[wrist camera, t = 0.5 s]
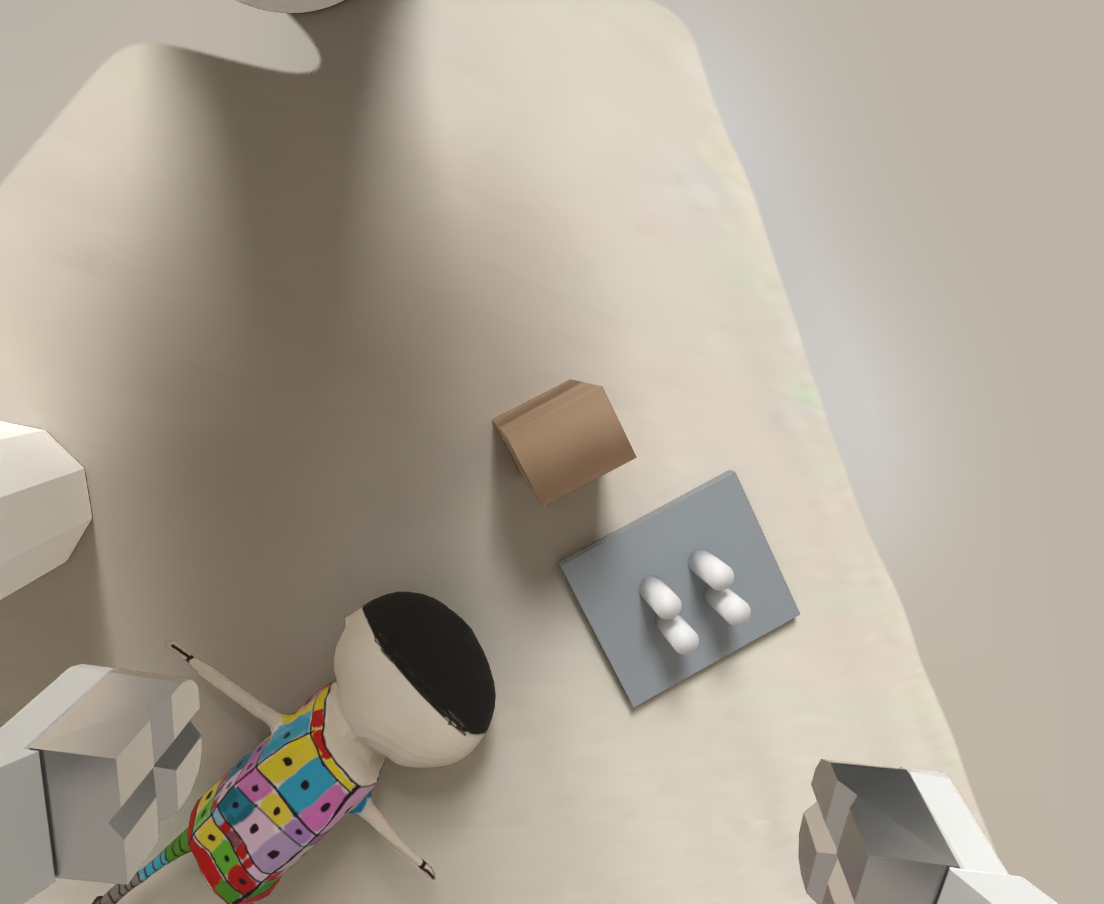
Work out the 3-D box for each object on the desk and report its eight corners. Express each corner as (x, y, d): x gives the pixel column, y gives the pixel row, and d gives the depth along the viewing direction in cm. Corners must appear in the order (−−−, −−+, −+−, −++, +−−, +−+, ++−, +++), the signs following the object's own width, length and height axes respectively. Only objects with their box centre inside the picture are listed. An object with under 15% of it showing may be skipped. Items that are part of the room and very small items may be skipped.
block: (492, 419, 52) (506, 436, 42) (570, 379, 52) (602, 386, 43) (522, 477, 53) (543, 506, 43) (598, 437, 53) (636, 457, 43)
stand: (557, 562, 54) (570, 583, 49) (729, 469, 55) (759, 481, 50) (630, 701, 56) (649, 734, 51) (793, 609, 57) (827, 634, 52)
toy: (265, 987, 56) (573, 716, 55) (221, 1105, 47) (586, 785, 46) (25, 771, 53) (346, 480, 52) (-71, 854, 44) (314, 506, 43)
